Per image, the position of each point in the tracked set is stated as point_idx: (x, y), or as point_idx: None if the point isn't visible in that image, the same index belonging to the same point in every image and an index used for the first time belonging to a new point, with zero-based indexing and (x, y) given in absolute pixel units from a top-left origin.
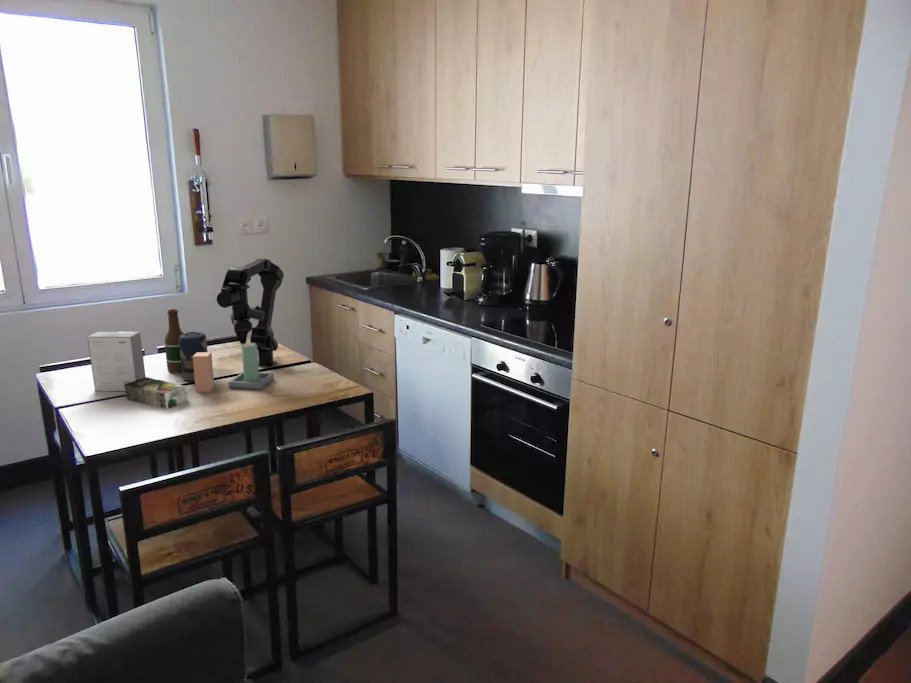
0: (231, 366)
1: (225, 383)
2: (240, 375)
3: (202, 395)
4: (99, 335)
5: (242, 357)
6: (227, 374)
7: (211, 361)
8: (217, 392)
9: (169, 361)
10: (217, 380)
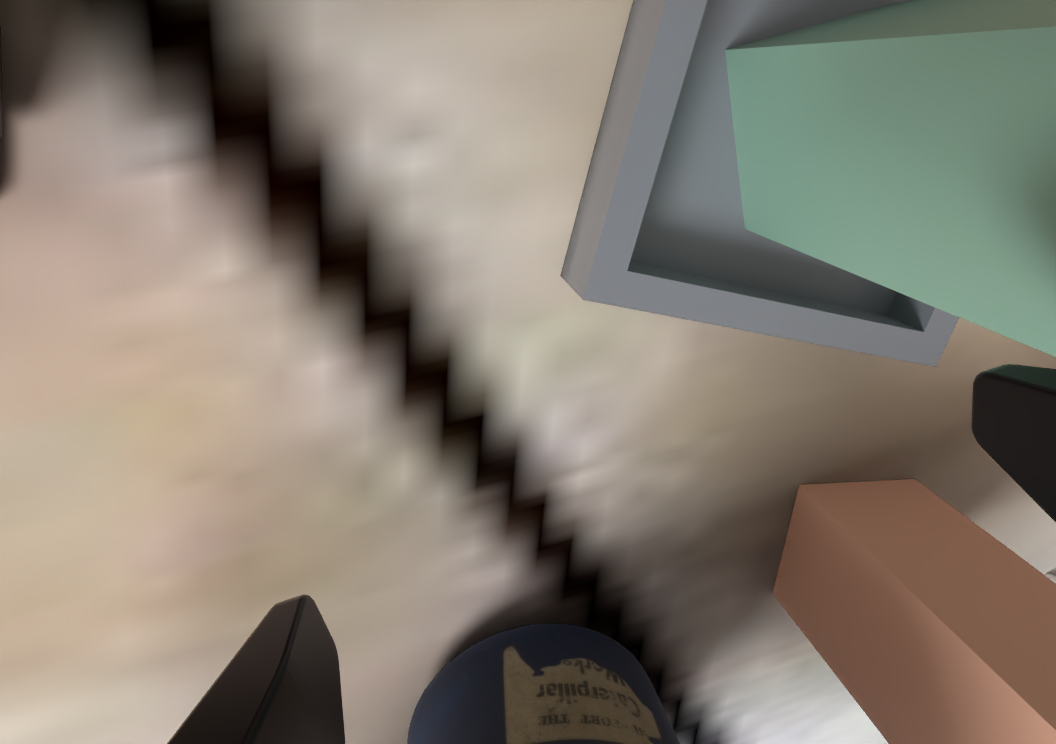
0: (60, 524)
1: (717, 415)
2: (727, 290)
3: (986, 508)
4: None
5: (980, 320)
6: (405, 479)
7: (1043, 689)
8: (955, 414)
9: None
10: (608, 514)
